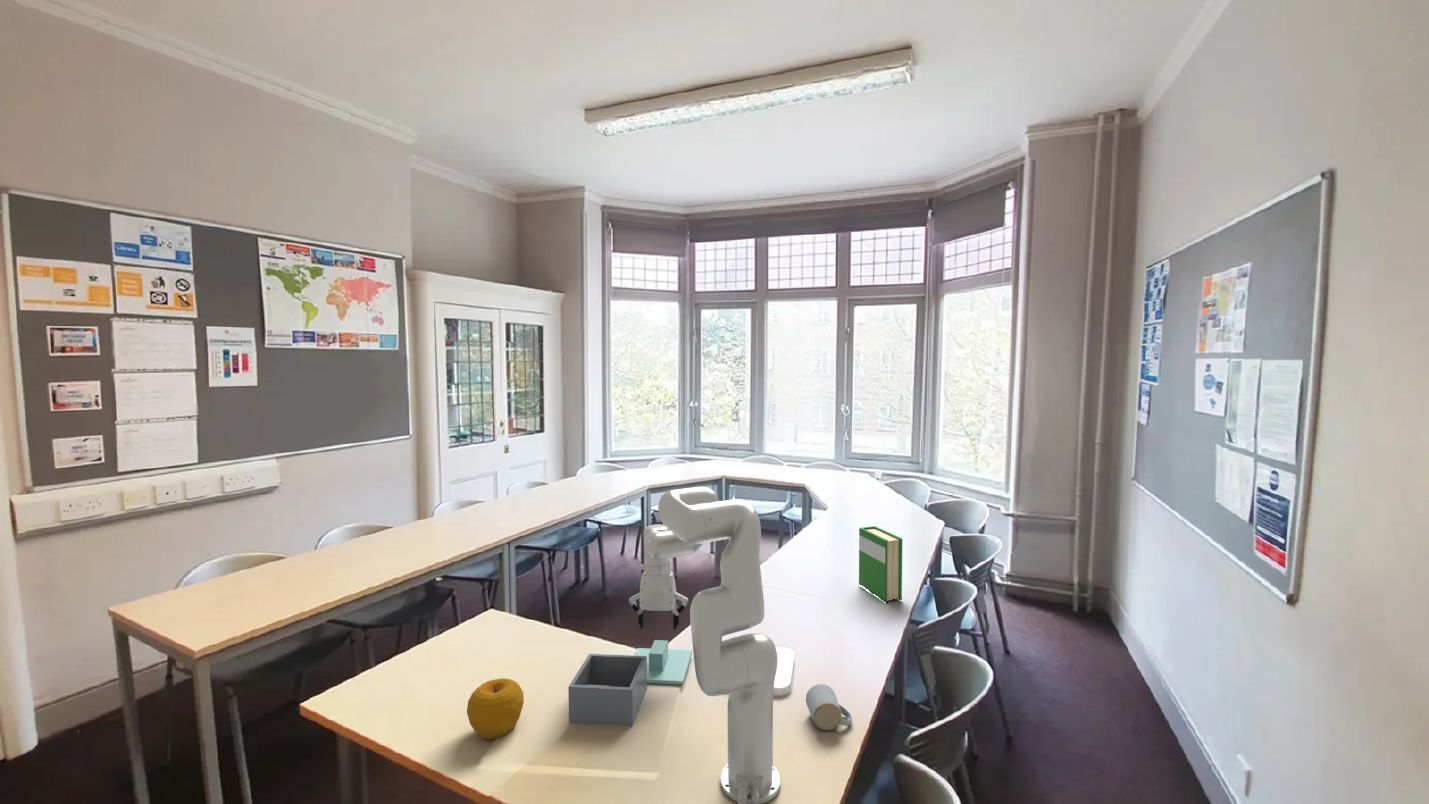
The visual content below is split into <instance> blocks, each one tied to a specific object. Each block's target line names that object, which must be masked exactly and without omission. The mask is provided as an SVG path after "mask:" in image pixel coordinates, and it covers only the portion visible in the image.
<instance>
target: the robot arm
mask: <svg viewBox="0 0 1429 804" xmlns="http://www.w3.org/2000/svg"><path fill="white" fill-rule="evenodd" d="M657 513H658V517H659V520H660V521H661V522H662V524H658V523H657V524H656V523H655V524H650V525H647V526H646V527H645V528H644V529H643V552H644V559H643V560H644V562H643V563H641V564H639V570H643V573H641V578H640V585H639V592H638V593H635V594H633V595H632V596H630V597H629V598H628V602H629V604H630V606H631V608H632V609H633V610H634V611H635V613H636V615H638V618H637V619H638V625H640V626H639V627H640V630H642V629H644V627H645V625H646V612H645V611H668V612H669V611H671V612H672V613H673V616H672V620H673V622H672V625H673V627H672V628H673V630H677V628H678V626H680V614H681V613H682V612H683V611H684V610H685V607H687V604H688V603H689V598H688V597H687V596H684V595H683V594H681V593H679V592H677V587H676V582H675V581H676V580H675V576H674V572H673V571H672V567H671V563H672V562H671V561H672V560H671V559H673V558H679V557H684V556H690V555H692V554H694V553H696V552H697V551H699V549H700V548H701V547H703V545H704V544H708V543H712V542H713V543H714V542H718V541H723V540H729V541H728V542H727V544H726V546H725V548H724V550H723V552H722V555H721V557H720V561H719V568H720V570H719V571H720V576H721V577H720V578H721V580H720V585H719V586H715V587H714V586H713V587H710V588H706V589H703V590H700V591H698V592H697V593H696V594H695V595H694V596H693V599H692V600H691V604H690V609H689V617H690V619H689V621H690V631H691V641H692V642H691V644H692V655H693V665H694V671H695V677H696V681H697V685H698V686H699V689H700V690H701V691H702V693H703V694H705V695H707V696H709V697H717V696H718V697H719V696H722V695H726V694H729V695H728V698H727V764H726V765H725V766H724V768H723V769H722V770H721V774H720V786H721V788H722V789H721V790H722V791H723V793H724V794H725V795H726V796H727V797H729V799H731V800H732V801H734V802H737V804H766V803H767V802H769V801H772V800H773V798H775V797H776V796H777V795H778V794H779V791H780V789H781V776H780V773H779V771H778V769H777V768H776V767H775V766H774V695H773V690H774V683H775V677H776V672H777V667H778V654H777V650H776V647H777V646H776V645H775V643H774V640H772V638H770V637H769V636H768V635H766V634H763V633H759V632H753V633H752V632H750V633H746V634H742V635H738V636H734V637H730V638H728V639H724V640H723V637H724V636H728V635H731V634H734V633H739V632H742V631H745V630H749V629H752V628H755V627H757V626H759V625H760V624H762V622H763V621H764V618H765V600H764V599H765V598H764V589H763V581H762V570H761V562H760V550H761V541H762V526H761V521H760V516H759V514H758V511H757V510H756V509H755V507H754V506H753V505H752V504H751V503H750V502H748V501H746V500H743V499H727V500H726V499H725V500H719V496H718V495H717V493H716V492H715V491H714V490H712V489H711V488H709V487H706V486H693V487H684V488H677V489H675V488H674V489H669V490H667V491H665V492H664V493H663V494H662V495H661V497H660V499H659V501H658V509H657ZM636 600H639V604H638V603H637V601H636ZM677 600H678V601H680V602H681V604H680V605H679V606H678V605H677Z"/></svg>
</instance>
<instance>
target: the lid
mask: <svg viewBox="0 0 1429 804" xmlns="http://www.w3.org/2000/svg"><path fill="white" fill-rule="evenodd" d="M637 651H639V652H637ZM633 656H647V684H661V685H662V684H663V685H684V683H685V680H686V675H687V673H688V669H689V665H690V661H691V659H692V656H693V649H692V650H691V649H671V648H670V649H669V640H663V639H662V640H661V639H655V640H654V641H653V643H652V644H651V648H647V647H646V648H645V647H644V648H643V647H637V648H636V650H635V652H634V654H633Z"/></svg>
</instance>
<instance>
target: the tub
mask: <svg viewBox="0 0 1429 804" xmlns="http://www.w3.org/2000/svg"><path fill="white" fill-rule="evenodd" d="M591 685H604V686H591ZM647 690H648V683H647V656H634V655H628V654H626V655H625V654H624V655H623V654H602V653H589V654H588V655H587V656H586V658H585V660H584V661H583V663H582V665H581V666H580V668H579V669H578V671H577V672H576V674H575V675H574V677H573V679H572V681H571V682H570V683H569V685H568V690H567V691H568V722H569V723H572V724H573V723H574V724H588V725H589V724H591V725H606V726H607V725H608V726H609V725H610V726H624V727H626V726H627V727H629V726H630V727H634V724H635V721H636V719H637V717H638V714H639V711H640V709H641V706H642V704H643V700H644V698H645V695H646V692H647Z"/></svg>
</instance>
